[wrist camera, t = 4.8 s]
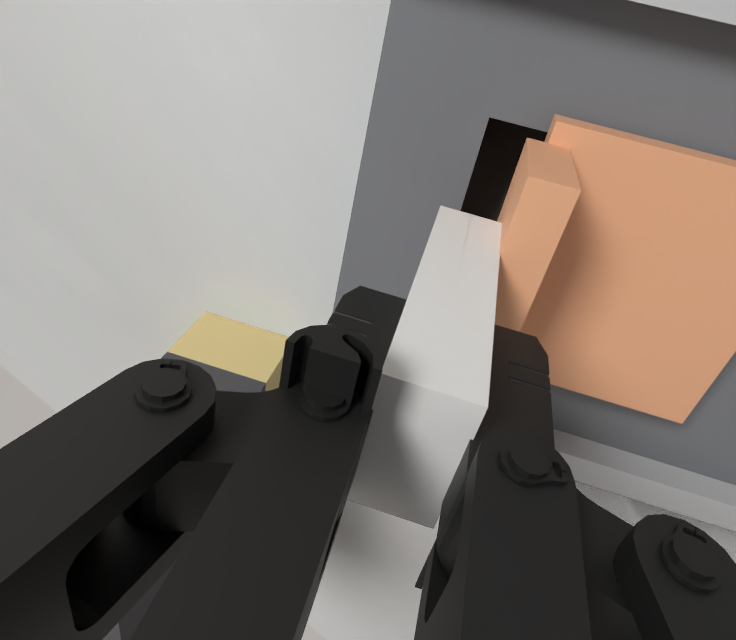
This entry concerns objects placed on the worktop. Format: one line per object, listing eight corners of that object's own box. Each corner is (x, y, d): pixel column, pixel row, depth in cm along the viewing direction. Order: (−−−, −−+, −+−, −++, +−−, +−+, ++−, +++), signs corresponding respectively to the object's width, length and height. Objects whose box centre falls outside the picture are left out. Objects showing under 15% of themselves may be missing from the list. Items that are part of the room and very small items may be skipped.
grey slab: (431, -93, 14) (403, -116, 11) (1188, 77, 12) (1429, 113, 9) (343, 334, 22) (311, 396, 19) (799, 473, 20) (853, 569, 17)
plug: (205, 311, 23) (-33, 561, 13) (293, 339, 23) (117, 617, 13) (203, 381, 25) (-1, 639, 15) (284, 407, 25) (128, 688, 15)
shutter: (533, 108, 13) (538, 149, 10) (831, 184, 12) (938, 255, 9) (453, 338, 17) (437, 420, 14) (675, 405, 16) (712, 507, 13)
